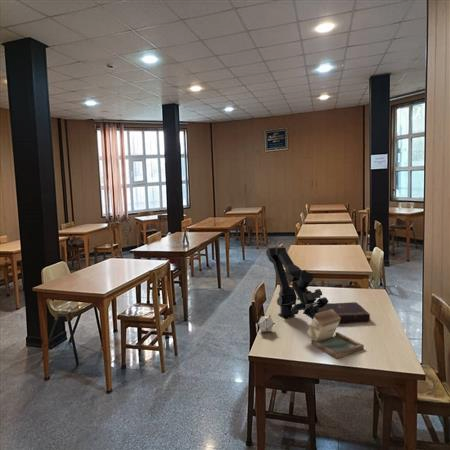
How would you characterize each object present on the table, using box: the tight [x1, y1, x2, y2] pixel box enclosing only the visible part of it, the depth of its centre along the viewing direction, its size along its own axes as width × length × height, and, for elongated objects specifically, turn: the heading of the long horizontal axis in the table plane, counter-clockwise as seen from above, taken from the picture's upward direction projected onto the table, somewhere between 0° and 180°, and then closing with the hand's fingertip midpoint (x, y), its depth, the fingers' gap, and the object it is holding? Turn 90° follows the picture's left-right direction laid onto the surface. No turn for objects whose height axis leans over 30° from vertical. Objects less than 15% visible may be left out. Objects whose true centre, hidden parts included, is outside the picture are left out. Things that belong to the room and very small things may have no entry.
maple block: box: [307, 309, 341, 342], centre depth 165 cm, size 6×10×12 cm, turn 119°
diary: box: [318, 301, 371, 325], centre depth 191 cm, size 19×25×5 cm
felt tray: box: [310, 331, 365, 360], centre depth 159 cm, size 15×15×2 cm
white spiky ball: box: [257, 314, 276, 334], centre depth 176 cm, size 9×8×10 cm
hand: (318, 322), depth 168 cm, fingers closed
